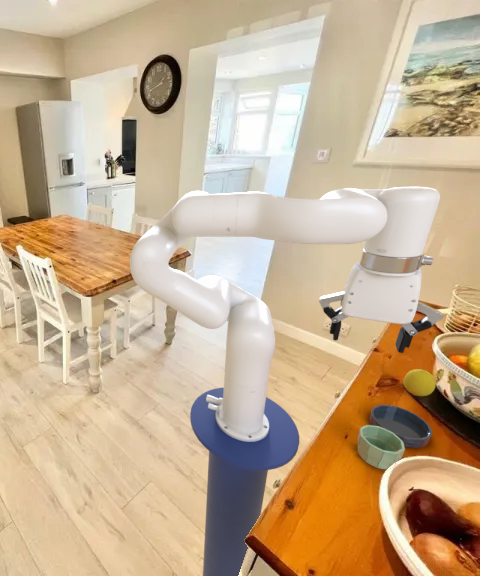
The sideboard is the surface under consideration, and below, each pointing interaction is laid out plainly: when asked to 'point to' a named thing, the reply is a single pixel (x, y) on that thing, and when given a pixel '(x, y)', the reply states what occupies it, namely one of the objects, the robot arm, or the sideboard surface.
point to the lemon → (419, 382)
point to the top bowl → (379, 446)
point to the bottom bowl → (402, 424)
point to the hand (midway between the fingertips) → (365, 342)
